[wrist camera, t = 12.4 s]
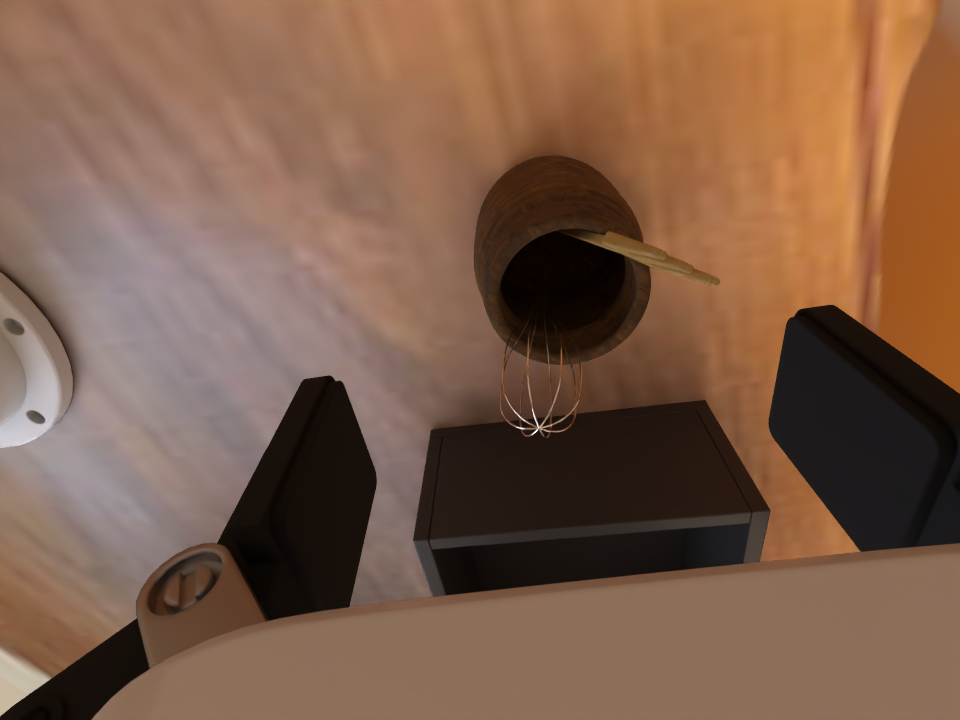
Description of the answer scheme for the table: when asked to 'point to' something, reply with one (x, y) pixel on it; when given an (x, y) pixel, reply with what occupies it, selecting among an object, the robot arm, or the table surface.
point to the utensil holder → (563, 267)
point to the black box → (585, 500)
